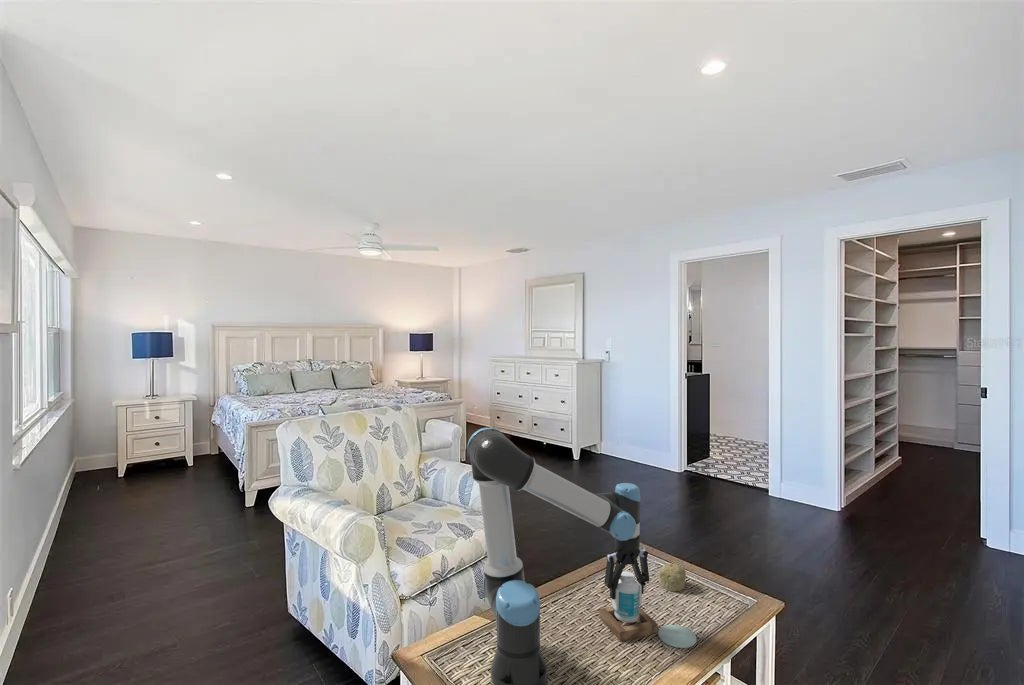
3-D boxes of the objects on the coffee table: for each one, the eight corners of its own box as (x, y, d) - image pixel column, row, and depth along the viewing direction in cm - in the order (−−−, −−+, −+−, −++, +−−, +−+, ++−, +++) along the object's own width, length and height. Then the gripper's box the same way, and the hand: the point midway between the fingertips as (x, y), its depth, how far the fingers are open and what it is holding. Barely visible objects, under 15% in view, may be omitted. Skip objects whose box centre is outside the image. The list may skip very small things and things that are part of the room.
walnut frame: (620, 641, 150) (620, 632, 150) (599, 617, 163) (599, 609, 163) (657, 632, 154) (657, 623, 154) (634, 610, 167) (634, 602, 167)
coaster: (672, 651, 145) (672, 650, 145) (651, 629, 156) (651, 628, 156) (704, 643, 149) (704, 642, 149) (681, 623, 159) (681, 621, 159)
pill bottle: (639, 625, 154) (639, 581, 154) (614, 622, 155) (614, 579, 155) (638, 611, 161) (638, 570, 161) (614, 609, 163) (614, 568, 162)
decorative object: (657, 595, 182) (660, 581, 176) (657, 570, 190) (660, 555, 184) (684, 601, 180) (688, 586, 174) (683, 574, 188) (687, 559, 182)
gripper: (604, 543, 151) (603, 618, 152) (662, 534, 157) (661, 606, 158) (592, 533, 158) (592, 605, 159) (648, 525, 164) (647, 594, 165)
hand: (626, 605), depth 158 cm, fingers closed on pill bottle, 7 cm apart
